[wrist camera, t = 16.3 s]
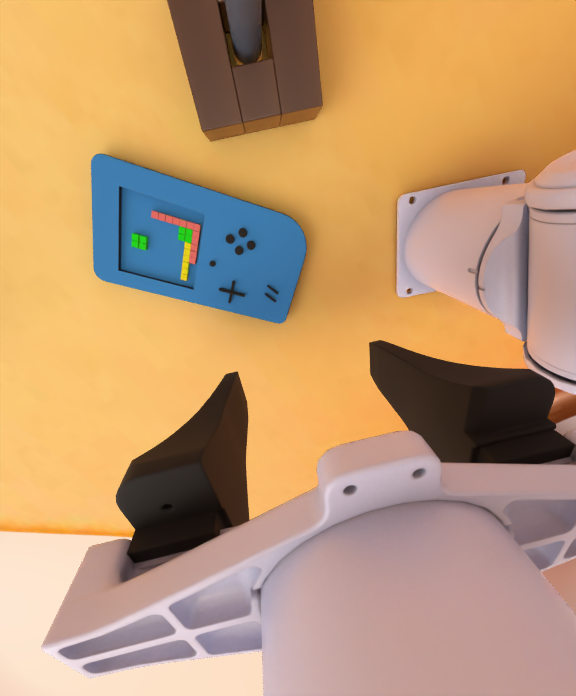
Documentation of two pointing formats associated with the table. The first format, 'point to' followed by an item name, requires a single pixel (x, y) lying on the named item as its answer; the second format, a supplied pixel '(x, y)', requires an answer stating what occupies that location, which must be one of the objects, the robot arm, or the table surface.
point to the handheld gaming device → (192, 242)
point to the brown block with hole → (249, 67)
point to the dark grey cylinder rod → (245, 29)
